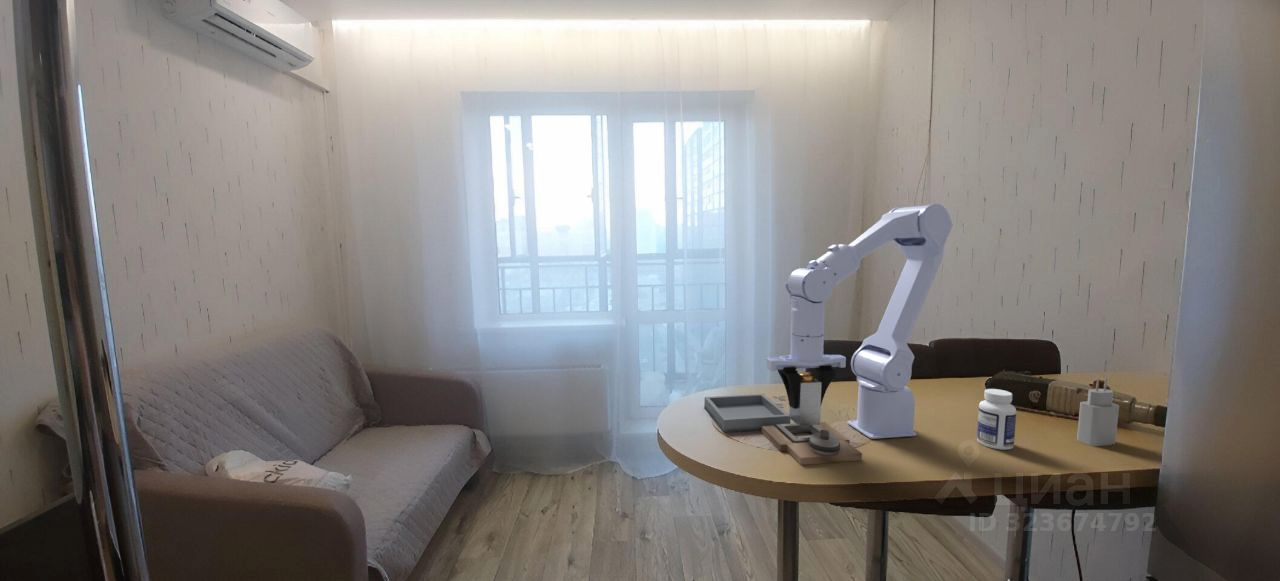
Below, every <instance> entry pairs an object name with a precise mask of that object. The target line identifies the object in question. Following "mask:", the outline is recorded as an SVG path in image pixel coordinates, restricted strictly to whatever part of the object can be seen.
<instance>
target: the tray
mask: <svg viewBox="0 0 1280 581" xmlns="http://www.w3.org/2000/svg"><path fill="white" fill-rule="evenodd" d="M703 407H704V410H706V412H707V413H708V414H709V416H710V417H711V418H712V420H713V421H714V422H715V423H716V424H717V426H718V427H719V428H720V430H721V431H722V432H723V433H736V431H737V432H751V431H761V426H772V425H773V426H774V427H775V428H776V425H778V424H791V419H790V418H789V416H790V413H789V414H788V412H786V411H785V410H784V409H782V407H780V406H779V405H777V403H775V402H773V400H771V399H770V398H769V397H768V396H766V395H765V394H764V393H757V394H756V393H754V394H751V393H750V394H737V395H736V394H735V395H733V394H732V395H719V396H718V395H717V396H704V406H703Z"/></svg>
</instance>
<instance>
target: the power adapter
mask: <svg viewBox="0 0 1280 581" xmlns="http://www.w3.org/2000/svg"><path fill="white" fill-rule="evenodd" d="M1099 382H1100V379H1099V378H1098V377H1097V378H1096V384H1095V388H1089V389H1088V391H1087V392H1088V394H1087V401H1086V400H1085V401H1080V402H1079V411H1078V412H1079V413H1078V414H1079V415H1078V425H1077V435H1076V441H1078V442H1080V443H1083V444H1086V445H1088V446H1091V447H1101V446H1102V447H1103V446H1113V445H1116V440H1117V429H1118V420H1119V409H1120V405H1119V404H1116V403H1113V396H1114V391H1113V390H1111V389H1107V386H1108V383H1107V382H1108V377H1105V378H1104V384H1103V388H1099V385H1100V383H1099ZM1112 444H1113V445H1112Z"/></svg>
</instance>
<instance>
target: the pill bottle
mask: <svg viewBox="0 0 1280 581" xmlns="http://www.w3.org/2000/svg"><path fill="white" fill-rule="evenodd" d="M983 396H984V399H985V400H981V401H980V402H979V403H978V404H979V405H978V413H977V414H978V415H977V417H978V418H977V430H976V431H977V432H976V439H977V442H978V443H979V444H980V445H982V446H984V447H987V448H991V449H995V450H1003V451H1007V450H1012V449H1014V446H1015V438H1016V436H1015V435H1016V423H1017V420H1016V419H1017V409H1016V407H1015V406H1014V404H1011V403H1012V401H1013V393H1012V392H1010V391H1008V390H1003V389H997V388H986V389H985V390H984V394H983Z"/></svg>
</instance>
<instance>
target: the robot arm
mask: <svg viewBox="0 0 1280 581" xmlns="http://www.w3.org/2000/svg"><path fill="white" fill-rule="evenodd" d="M953 225H954V224H953V222H952V219H951V217H950V214H949V211H948V210H947V208H946V207H945V206H944V205H942V204H940V203H930V204H928V205H918V206H917V205H915V206H905V207H903V206H897V207H894V208H892V209H891V210H889V211H888V212H886V213H884V214H882V216H881V218H880V219H879V220H878V221H877V222H875V223H874V224H873V225H872V226H871V227H869V228H868V229H867V230H866V231H864V232H863V233H862V234H861V235H859V236H858V237H857V238H856V239H854V240H853V241H852V242H851V243H849V244H848V245H847V244H845V243H844V244H843V243H839V244H832V245H830V246H828V247H827V250H828V251H827V252H826V253H824V254H822V255H821V256H820V257H818V258H817V259H816V260H813V259H812V260H810V261H809V262H808V265H807V266H806V268H803V267H800V268H797V269H795V270H794V271H792V272H791V274H790V275H789V277H788V280H787V282H785V283H784V286H785V287H784V288H785V291H786V293H787V294H788V295H789V298H790V305H791V311H790V312H791V313H790V316H791V317H790V348H789V349H790V351H789V353H790V354H788V355H787V354H786V355H780V356H776V357H767V358H766V369H767V370H769V371H771V372H775V371H777V372H778V374H779V376H780V378H781V381H782V382H783V386H784V388H785V392H786V395H787V396H786V397H787V400H788V405H789V407H790V406H791V407H792V408H794V409H797V408H798V397H799V386H800V381H801V378H802V375H800V374H798V373H799V370H800V369H809V371H810V372H809V373H813V374H814V375H815V376H814V378H815V379H817V380H818V381H820V382H821V405H822V404H823V400H824V397H825V394H826V392H827V390H828V388H829V386H830V384H831V382H832V381H833V380H834V378H835V377H836V371H837V370H835V369H833V368H836V367H838V368H841V369H842V368H846V366H847V365H846V363H847V362H846V361H847V358H846V356H844V355H841V354H824V343H825V342H824V340H825V311H826V310H825V309H826V300H828V299H829V298H830V297H831V295H832V294H833V291H834V288H835V287H836V286H837V285H838V284H840V283H841V282H842V281H844V280H845V279H846V278H848V277H849V276H851V275H852V274H854V273H855V272H856V271H858V270H859V269H860V266H861V260H862V259H863V258H865V257H867V256H869V255H871V254H872V253H873V252H875V251H877V250H878V249H880V248H881V247H883V246H885V245H887V244H888V243H889V242H891V241H893V242H894V244H895V245H896V246H897V247H898V248H899V249H900V251H901V252H902V253H904V255H905V257H906V262H905V264H904V267H903V269H902V271H901V274H900V275H899V278H898V280H897V283H896V286H895V288H894V291H893V292H892V295H891V297H890V300H889V302H888V305H887V307H886V310H885V311H884V313H883V317H882V319H881V321H880V324H879V326H878V328H877V331H876V332H875V333H873V334H871V335H869V336H868V337H866V338H865V339H864V340H863V341H862V344H860V346H859V348H858V349H857V350H855V352H854V353H853V355H852V356H851V360H850V367H851V368H850V369H851V371H852V373H853V374H854V375H855V376H856V381H857V382H858V389H857V390H858V393H857V415H856V416H857V417H856V420H854V419H853V420H847V422H846V423H847V424H848V425H850V427H852V428H854V429H855V430H857V431H858V432H860V433H861V434H862V435H864V436H866V437H868V438H869V439H870V440H873V439H874V440H875V439H890V438H903V437H916V436H917V433H916V432H915V431H914V426H915V407H916V406H915V405H916V404H915V403H916V400H915V396H914V394H913V391H912V390H911V389H910V388H909V387H908V386H907V385H908V384H909V382H910V380H911V377H912V374H913V373H912V368H913V363H914V359H915V355H914V353H913V351H912V350H911V349H910V346H908V342H909V339H910V337H911V334H912V332H913V330H914V328H915V325H916V323H917V321H918V318H919V315H920V313H921V310H922V309H923V306H924V304H925V302H926V299H927V297H928V294H929V291H930V289H931V287H932V284H933V282H934V280H935V278H936V276H937V273H938V270H939V269H940V266H941V263H942V261H943V257H944V251H945V250H944V248H945V245H946V244H947V243H946V242H947V240H948V237H949V235H950V233H951V231H952V228H953ZM797 369H799V370H797Z"/></svg>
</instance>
